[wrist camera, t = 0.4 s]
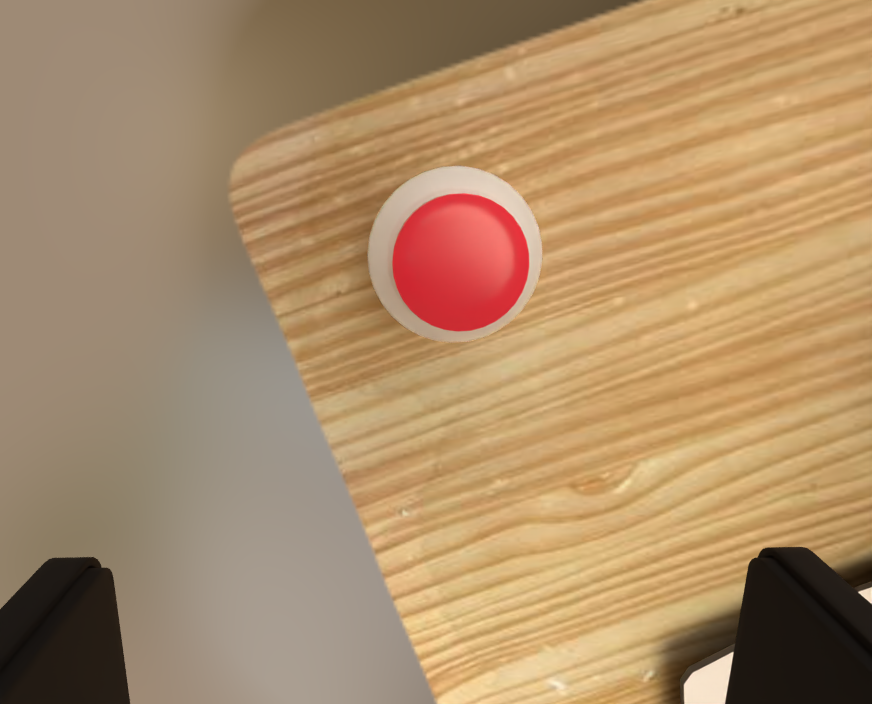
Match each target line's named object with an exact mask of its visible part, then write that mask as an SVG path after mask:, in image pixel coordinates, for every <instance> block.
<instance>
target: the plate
mask: <svg viewBox="0 0 872 704" xmlns="http://www.w3.org/2000/svg"><path fill="white" fill-rule="evenodd" d="M854 589H855V590H856V591H857V592H858V593H860V594H861V595H862V596H863V597H864V598H865V599H866V600H867V601H869V602H870V603H871V604H872V581H871V582H868V583H865V584H862V585H859V586H857V587H854ZM734 647H735V643H734V644H732V645H730V646H728V647H726V648H724V649H722V650H720V651H718V652H716V653H714V654H712V655H710V656H709V657H707V658H705V659H703V660H701V661H699V662H697V663H695V664H693V665H691V666H689V667H688V668H687V670H686V671H685V672H684V674H683V675H682V677H681V678H680V702H681V704H725V700H726V694H727V688H728V682H729V676H730V671H731V665H732V659H733V653H734Z"/></svg>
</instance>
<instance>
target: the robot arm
mask: <svg viewBox="0 0 872 704" xmlns="http://www.w3.org/2000/svg"><path fill="white" fill-rule="evenodd" d="M0 704H130V699H129V693H128V684H127V677H126V669H125V662H124V655H123V647H122V639H121V632H120V624H119V617H118V609H117V602H116V594H115V587H114V580H113V575H112V572H111V570H110V569H108V568H101V564H100V562H99V561H98V560H97V559H96V558H94V557H82V558H81V557H80V558H52V559H49V560H48V561H46V562H45V563H44V564H43V565H42V566H41V567H40V568H39V569H38V570H37V571H36V572H35V573H34V574H33V575H32V577H31V578H30V579H29V580H28V581H27V582H26V583H25V584H24V585H23V586H22V587H21V588H20V589H19V590H18V591H17V592H16V593H15V595H13V597H11V599H10V600H9V601H8V602H7V603H6V604H5V605H4V606H3V607H2V608H1V609H0ZM725 704H872V604H871V603H870V602H869V601H867V600H866V599H865V598H864V597H863V596H862V595H861V594H860V593H858V592H857V591H856V590H855V589H854V588H853V587H852V586H851V585H849V584H848V583H847V582H846V581H845V580H844V579H843V578H842V577H840V576H839V575H838V574H837V573H836V572H835V571H834V570H832V569H831V568H830V567H829V566H828V565H827V564H826V563H825V562H823V561H822V560H821V559H820V558H819V557H818V556H817V555H816V554H814V553H813V552H812V551H810V550H809V549H807V548H803V547H773V548H765V549H763V550H762V551H761V552H760V554H759V556H758V558H754V559H752V560H751V561H750V563H749V566H748V571H747V577H746V583H745V589H744V595H743V601H742V606H741V612H740V618H739V624H738V630H737V636H736V641H735V647H734V653H733V659H732V665H731V671H730V676H729V682H728V688H727V694H726V700H725Z"/></svg>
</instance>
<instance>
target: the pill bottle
mask: <svg viewBox="0 0 872 704" xmlns="http://www.w3.org/2000/svg"><path fill="white" fill-rule="evenodd" d="M367 257H368V268H369V274H370V278H371V281H372V285H373V288H374V290H375V292H376V294H377V296H378V298H379V300H380V302H381V304H382V305H383V306H384V307H385V309H386V310H387V311H388V312H389V314H390V315H391V316H392V317H393V318H394V319H395V320H396V321H398V322H399V323H400V324H401V325H402V326H404V327H405V328H406V329H408V330H410V331H412V332H414V333H415V334H417V335H419V336H422V337H425V338H428V339H431V340H434V341H441V342H449V343H456V342H469V341H472V340H476V339H480V338H484V337H486V336H488V335H490V334H492V333H494V332H496V331H499V330H500V329H502V328H503V327H504V326H506V325H507V324H508V323H510V322H511V321H512V320H513V319H514V318H515V317H516V316H517V315H518V314H519V313H520V312H521V311H522V310H523V309H524V307H525V306H526V304H527V302H528V301H529V299H530V298H531V296H532V294H533V293H534V290H535V287H536V285H537V282H538V280H539V277H540V271H541V265H542V240H541V235H540V231H539V226H538V224H537V221H536V219H535V217H534V214H533V212H532V210H531V208H530V207H529V206H528V204H527V203H526V201H525V200H524V198H523V197H522V196H521V195H520V194H519V193H518V192H517V191H516V190H515V189H514V188H513V187H512V186H511V185H510V184H509V183H507V182H505V181H504V180H502V179H501V178H499V177H497V176H496V175H494V174H492V173H489V172H486V171H484V170H481V169H478V168H472V167H465V166H446V167H439V168H435V169H432V170H428V171H424V172H422V173H420V174H418V175H416V176H415V177H413V178H411V179H409V180H407V181H406V182H405V183H404V184H402V185H401V186H400V187H398V188H397V189H396V190H395V191H394V192H393V193H392V194H391V195H390V197H389V198H388V199H387V200H386V201H385V203H384V204H383V205H382V207H381V209H380V211H379V213H378V214H377V216H376V218H375V220H374V223H373V226H372V229H371V233H370V236H369V243H368V252H367Z"/></svg>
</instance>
